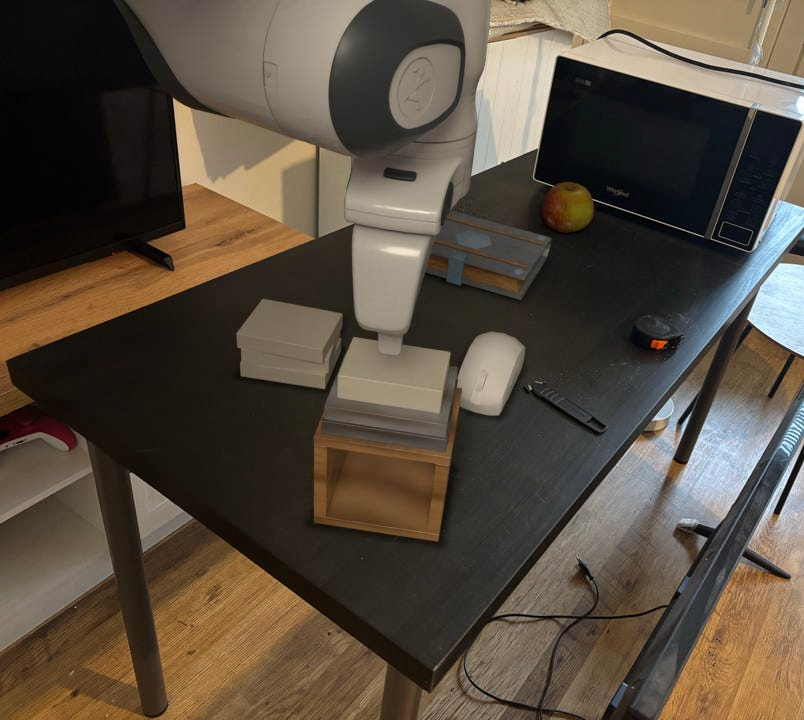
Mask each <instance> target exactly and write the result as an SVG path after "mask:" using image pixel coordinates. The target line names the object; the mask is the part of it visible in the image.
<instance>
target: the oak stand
mask: <svg viewBox="0 0 804 720" xmlns="http://www.w3.org/2000/svg"><path fill="white" fill-rule="evenodd" d="M347 351H348V349H346V351H345V354H344V357H343V359H342V362H341V364H340V366H339V369H338V371H337V374H336V376H335V378H334V381H333V383H332V386H331V389H330V391H329V393H328V396H327V398H326V400H325V403H324V406H323V413H322V414H321V415H322V416H321V418H320V420H319V421H318V425H317V427H316V430H315V432H314V435H313V523H314V524H321V525H327V526H334V527H340V528H346V529H352V530H359V531H366V532H373V533H379V534H385V535H391V536H392V535H393V536H399V537H405V538H412V539H418V540H424V541H425V540H426V541H431V542H437V543H438V542H439V539H440V533H441V527H442V521H443V516H444V510H445V503H446V496H447V490H448V485H449V479H450V474H451V473H450V472H451V468H452V467H451V466H452V459H453V453H454V446H455V440H456V433H457V428H458V427H457V426H458V421H459V420H458V419H459V413H460V408H461V407H460V400H461V394H462V388H457V385H458V379H457V377H458V370H459V367H458V366H453V365H449V369H448V376H447V381H446V386H445V391H444V396H443V401H442V406H441V411H440V413H432V412H426V411H419V410H413V409H406V408H400V407H394V406H387V405H381V404H374V403H368V402H361V401H355V400H348V399H342V398H337V385H338V374H339V371H340V369H341V366H342V364H343V361H344V359H345V356H346V354H347Z"/></svg>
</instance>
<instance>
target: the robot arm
mask: <svg viewBox="0 0 804 720" xmlns="http://www.w3.org/2000/svg"><path fill="white" fill-rule="evenodd" d="M112 1H113V3H114V4H115V5H116V7H117V9H118V10H119V12H120V14H121V15H122V17H123V19H124V21H125V22H126V25H127V26H128V28H129V30H130V33H131V35H132V37H133V39H134V41H135V44H136V45H137V47H138V50H139V52H140V54H141V56H142V58H143V60H144V63H145V64H146V66H147V68H148V69H149V71H150V73H151V75H152V76H153V77H154V79H155V80H156V82H157V83H158V85H159V86H160V87H161V88H162V89H163V90H164V92H165V93H167V94H168V95H169V96H170V97H171V98H172V99H174V100H175V101H176V102H178V103H180V104H181V105H183V106H185V107H186V108H190V109H192V110H195V111H200V112H204V113H208V114H212V115H216V116H220V117H224V118H228V119H233V120H239V121H241V122H244V123H246V124H247V123H248V124H250V125H252V126H256V127H258V128H261V129H264V130H267V131H269V132H272V133H276V134H278V135H282V136H284V137H287V138H290V139H293V140H296V141H299V142H304V143H306V144H310V145H312V146H314V147H318V148H321V149H324V150H327V151H329V152H333V153H336V154H339V155H342V156H346V157H350V173H349V177H348V181H347V184H346V188H345V194H344V199H343V217H344V220H345V222H347V223H351V224H353V227H352V237H351V272H352V293H353V294H352V295H353V309H354V316H355V319H356V322H357V324H358V326H359V327H360V328H361V329H363V330H366V331H370V332H377V335H378V336H377V341H378V350H379V352H381V353H383V354H390V355H398V354H399V353H400V352H401V348H402V345H404V337H405V334H407V332H408V331H409V329H410V326H411V323H412V319H413V315H414V311H415V308H416V305H417V301H418V298H419V294H420V291H421V288H422V284H423V282H424V278H425V274H426V272H425V271H426V268H427V264H428V261H429V258H430V254H431V251H432V248H433V244H434V241H435V237H436V235H438V234H439V232H440V230H441V227H442V226H443V224H444V222H445V220H446V217H447V215H448V214H449V212H450V211H452V210H453V208H454V207H455V206H456V205H457V203H458V202H459V200H460V199H462V198H464V197H465V196H466V195H467V194H468V193H469V191H470V187H471V181H472V174H473V173H472V172H473V165H474V157H475V150H476V149H475V148H476V142H477V141H476V139H477V133H478V125H479V124H478V113H477V105H476V95H477V89H478V86H479V83H480V80H481V77H482V75H483V73H484V70H485V67H486V62H487V54H488V45H489V38H490V37H489V36H490V25H491V12H492V0H112Z"/></svg>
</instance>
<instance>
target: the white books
mask: <svg viewBox="0 0 804 720" xmlns="http://www.w3.org/2000/svg"><path fill="white" fill-rule="evenodd" d="M343 314H344V313H342V312H336V311H331V310H325V309H320V308H316V307H310V306H304V305H298V304H293V303H289V302H283V301H277V300H273V299H266V298H262V299H261V300H260V302H259V303H258V304H257V305H256V307H255V308H254V309H253V311H252V312H251V314H250V315H249V316H248V317H247V319H246V320H245V321H244V323H243V324H242V325H241V326H240V328H239V329H238V331H237V332H236V333H235V335H236V347H237V348H238V349H240V357H241V360H240V362H239V370H240V371H239V372H240V377H243V378H244V377H245V378H249V379H255V380H261V381H262V380H264V381H269V382H276V383H283V384H288V385H294V386H301V387H308V388H314V389H322V390H326V388H327V386H328V383H329V381H330V379H331V377H332V373H333V371H334V369H335V366H336V364H337V361H338V360H339V358H340V355H341V352H342V338H341V330H342V328H343V323H344V321H343V320H344V319H343V318H344V315H343Z"/></svg>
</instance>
